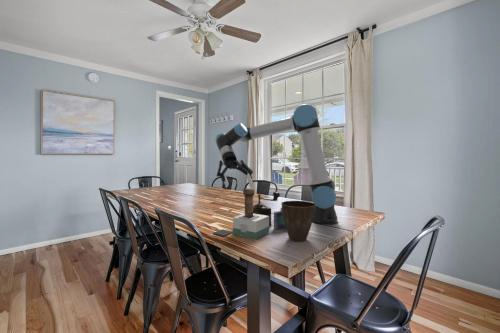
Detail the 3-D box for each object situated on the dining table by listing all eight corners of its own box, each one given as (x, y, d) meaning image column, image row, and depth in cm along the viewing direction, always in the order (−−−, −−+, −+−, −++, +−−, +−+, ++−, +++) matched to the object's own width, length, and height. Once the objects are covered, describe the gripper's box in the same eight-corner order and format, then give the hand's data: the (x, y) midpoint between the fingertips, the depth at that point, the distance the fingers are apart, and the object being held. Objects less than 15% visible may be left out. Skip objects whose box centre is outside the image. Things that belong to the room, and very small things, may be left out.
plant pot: (291, 231, 121) (291, 199, 120) (320, 237, 111) (320, 203, 110) (274, 239, 109) (275, 204, 108) (305, 247, 100) (305, 208, 99)
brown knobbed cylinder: (256, 227, 117) (256, 189, 116) (250, 230, 113) (250, 190, 112) (247, 225, 120) (247, 188, 119) (241, 228, 116) (241, 189, 115)
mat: (233, 232, 119) (233, 231, 119) (223, 236, 113) (223, 235, 113) (222, 230, 123) (222, 229, 123) (212, 234, 117) (212, 232, 117)
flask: (274, 230, 123) (275, 209, 122) (272, 228, 126) (272, 207, 125) (291, 228, 126) (291, 207, 125) (288, 226, 129) (288, 206, 128)
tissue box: (269, 232, 120) (269, 214, 119) (255, 239, 109) (255, 220, 109) (247, 227, 127) (247, 211, 126) (232, 234, 116) (232, 216, 116)
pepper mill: (253, 228, 126) (253, 193, 126) (247, 222, 137) (247, 190, 136) (281, 225, 131) (281, 192, 130) (273, 220, 142) (273, 189, 141)
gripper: (245, 159, 145) (258, 188, 132) (205, 160, 133) (214, 191, 121) (250, 150, 140) (263, 179, 127) (208, 150, 128) (218, 181, 116)
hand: (239, 185), depth 124 cm, fingers open, 13 cm apart
